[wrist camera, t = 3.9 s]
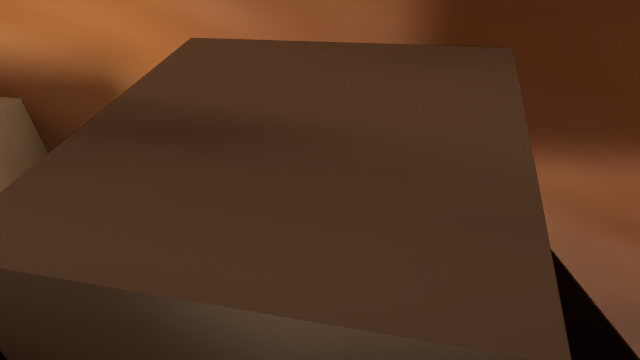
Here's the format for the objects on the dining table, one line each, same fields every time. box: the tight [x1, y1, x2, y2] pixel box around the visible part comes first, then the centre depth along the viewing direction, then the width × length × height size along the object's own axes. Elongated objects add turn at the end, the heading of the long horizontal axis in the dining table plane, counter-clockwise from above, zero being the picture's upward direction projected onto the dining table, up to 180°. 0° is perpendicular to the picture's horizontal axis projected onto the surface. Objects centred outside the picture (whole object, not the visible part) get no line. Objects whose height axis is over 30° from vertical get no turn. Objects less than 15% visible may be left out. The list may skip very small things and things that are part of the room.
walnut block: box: [0, 38, 571, 360], centre depth 7 cm, size 5×5×5 cm
